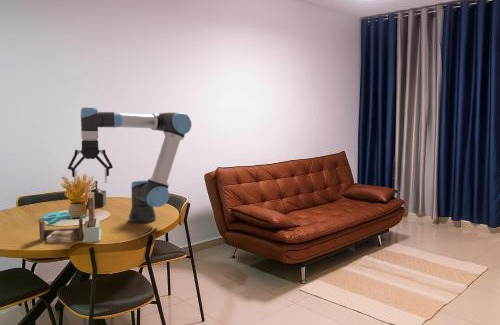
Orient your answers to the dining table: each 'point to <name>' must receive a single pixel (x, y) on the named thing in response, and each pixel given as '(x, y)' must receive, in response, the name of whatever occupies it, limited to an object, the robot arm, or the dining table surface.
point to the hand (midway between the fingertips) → (91, 183)
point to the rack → (46, 233)
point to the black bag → (98, 197)
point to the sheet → (91, 210)
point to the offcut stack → (61, 236)
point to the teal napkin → (56, 217)
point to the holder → (92, 231)
